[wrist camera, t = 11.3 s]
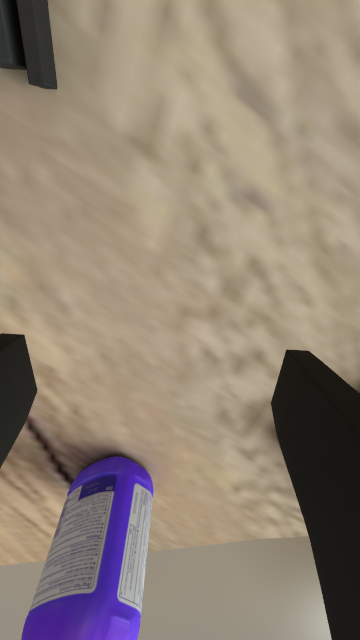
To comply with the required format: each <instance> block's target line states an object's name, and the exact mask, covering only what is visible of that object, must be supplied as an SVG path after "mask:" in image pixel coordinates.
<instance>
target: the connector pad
mask: <svg viewBox="0 0 360 640" xmlns="http://www.w3.org/2000/svg"><path fill="white" fill-rule="evenodd" d="M0 68H8V69H22V70H27V67H26V61H25V54H24V47H23V41H22V34H21V28H20V21H19V14H18V8H17V1H16V0H0Z"/></svg>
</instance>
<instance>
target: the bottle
mask: <svg viewBox="0 0 360 640" xmlns="http://www.w3.org/2000/svg"><path fill="white" fill-rule="evenodd" d="M152 498H153V484H152V480H151V477H150V475H149V474H148V472H147V471H146V470H145V469H144V468H142V467H141V466H139V465H138V464H137V463H135V462H134V461H132V460H130V459H127V458H124V457H117V456H116V457H110V458H106V459H103V460H100V461H97V462H95V463H93V464H92V465H90V466H88V467H87V468H85V469H84V470H83V471H82V472H81V473H80V474H79V475H78V476H77V477H76V479H75V480H74V481H73V483H72V485H71V487H70V489H69V491H68V494H67V498H66V501H65V504H64V507H63V510H62V513H61V516H60V520H59V523H58V526H57V529H56V532H55V535H54V538H53V541H52V544H51V547H50V550H49V553H48V556H47V560H46V563H45V566H44V568H43V572H42V575H41V578H40V581H39V584H38V587H37V589H36V593H35V595H34V599H33V602H32V605H31V608H30V610H29V614H28V616H27V618H26V621H25V625H24V628H23V633H22V639H21V640H137V638H138V633H139V627H140V617H141V609H142V596H143V587H144V576H145V567H146V557H147V549H148V538H149V528H150V517H151V507H152Z"/></svg>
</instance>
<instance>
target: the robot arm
mask: <svg viewBox="0 0 360 640" xmlns="http://www.w3.org/2000/svg"><path fill="white" fill-rule="evenodd" d="M36 393H37V387H36V383H35V378H34V374H33V370H32V366H31V361H30V357H29V353H28V349H27V344H26V340H25V336H24V335H19V334H0V468H1V466H2V464H3V462H4V460H5V459H6V457H7V455H8V453H9V451H10V450H11V448H12V446H13V444H14V442H15V440H16V439H17V437H18V435H19V433H20V431H21V429H22V427H23V426H24V424H25V421H26V419H27V416H28V414H29V412H30V409H31V406H32V404H33V401H34V398H35V396H36ZM271 406H272V412H273V417H274V423H275V428H276V433H277V437H278V441H279V444H280V447H281V450H282V453H283V456H284V460H285V463H286V466H287V469H288V472H289V475H290V478H291V481H292V484H293V487H294V490H295V493H296V496H297V499H298V502H299V505H300V509H301V512H302V515H303V518H304V521H305V524H306V528H307V531H308V535H309V538H310V542H311V546H312V551H313V555H314V559H315V564H316V568H317V573H318V577H319V581H320V586H321V590H322V594H323V599H324V604H325V609H326V614H327V619H328V623H329V628H330V633H331V638H332V640H360V394H359V393H358V392H357V391H356V390H355V389H354V388H352V387H351V386H350V385H349V384H348V383H346V382H345V381H344V380H343V379H342V378H341V377H339V376H338V375H337V374H336V373H335V372H334V371H332V370H331V369H330V368H329V367H328V366H327V365H325V364H324V363H323V362H322V361H321V360H319V359H318V358H317V357H316V356H315V355H313V354H312V353H311V352H309V351H301V350H286V353H285V357H284V360H283V363H282V367H281V370H280V374H279V377H278V381H277V384H276V388H275V391H274V395H273V398H272V401H271Z"/></svg>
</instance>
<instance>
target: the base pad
mask: <svg viewBox="0 0 360 640" xmlns="http://www.w3.org/2000/svg"><path fill="white" fill-rule="evenodd" d="M16 1H17V8H18V14H19V21H20V28H21V34H22V41H23V47H24V54H25V61H26V67H27V74H28V80H29V84H31V85H34V86H38V87H41V88H45V89H57V81H56V72H55V63H54V55H53V46H52V37H51V28H50V20H49V11H48V2H47V0H16Z"/></svg>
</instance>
